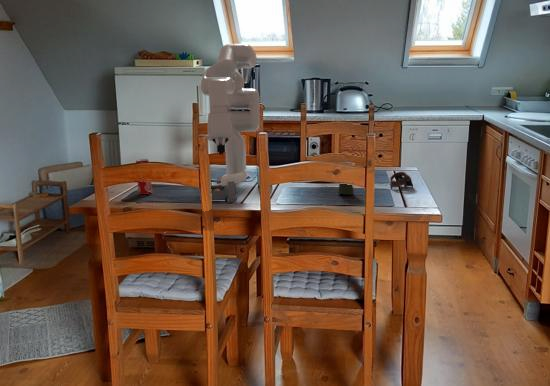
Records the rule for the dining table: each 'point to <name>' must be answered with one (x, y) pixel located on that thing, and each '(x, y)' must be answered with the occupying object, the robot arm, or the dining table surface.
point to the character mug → (344, 187)
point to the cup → (218, 192)
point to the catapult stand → (232, 192)
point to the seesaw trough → (233, 178)
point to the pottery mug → (400, 180)
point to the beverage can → (144, 186)
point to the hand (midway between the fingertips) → (221, 153)
